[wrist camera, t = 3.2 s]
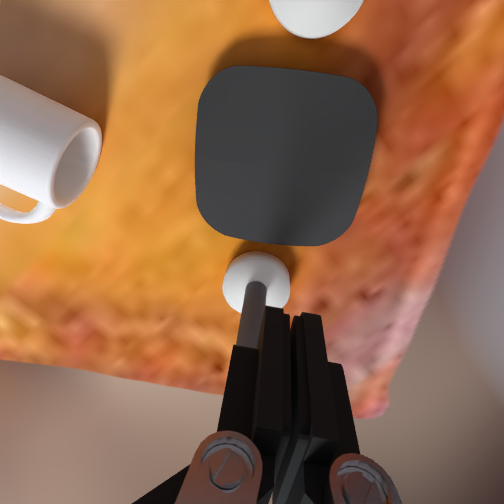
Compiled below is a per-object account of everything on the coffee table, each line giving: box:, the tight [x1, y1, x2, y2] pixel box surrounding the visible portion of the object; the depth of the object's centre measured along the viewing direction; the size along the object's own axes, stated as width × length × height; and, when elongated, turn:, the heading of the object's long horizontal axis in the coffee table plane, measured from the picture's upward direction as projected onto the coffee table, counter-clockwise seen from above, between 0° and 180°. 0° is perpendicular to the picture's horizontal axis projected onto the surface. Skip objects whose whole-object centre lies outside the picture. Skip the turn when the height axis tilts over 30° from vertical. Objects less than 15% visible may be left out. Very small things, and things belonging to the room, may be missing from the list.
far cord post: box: [223, 251, 290, 349], centre depth 28 cm, size 7×7×20 cm
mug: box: [0, 75, 102, 224], centre depth 29 cm, size 12×10×8 cm
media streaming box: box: [195, 66, 378, 246], centre depth 30 cm, size 15×15×3 cm
